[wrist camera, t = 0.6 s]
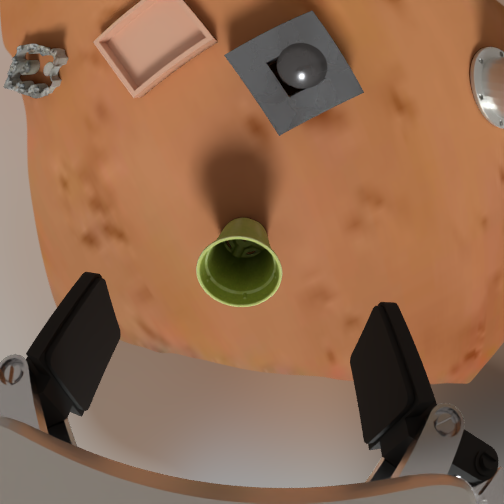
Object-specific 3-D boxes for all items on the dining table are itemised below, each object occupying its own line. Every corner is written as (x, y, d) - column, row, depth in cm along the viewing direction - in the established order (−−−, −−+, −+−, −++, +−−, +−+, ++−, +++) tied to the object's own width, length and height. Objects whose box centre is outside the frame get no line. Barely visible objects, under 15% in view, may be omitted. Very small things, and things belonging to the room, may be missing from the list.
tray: (173, -12, 21) (166, -18, 19) (217, 42, 26) (213, 38, 24) (103, 43, 25) (93, 42, 23) (141, 96, 29) (133, 97, 27)
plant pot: (197, 220, 38) (180, 255, 30) (263, 193, 35) (261, 224, 28) (228, 274, 42) (220, 315, 35) (289, 253, 40) (293, 293, 32)
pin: (297, 52, 26) (310, 35, 17) (316, 80, 28) (336, 75, 19) (267, 67, 27) (267, 56, 19) (286, 96, 29) (294, 96, 20)
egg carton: (74, 50, 25) (57, 49, 22) (57, 99, 29) (39, 102, 25) (30, 41, 23) (13, 41, 19) (16, 85, 26) (-1, 88, 23)
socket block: (305, 21, 24) (312, 10, 20) (350, 92, 28) (363, 92, 24) (230, 60, 27) (224, 55, 23) (277, 129, 31) (279, 135, 27)
